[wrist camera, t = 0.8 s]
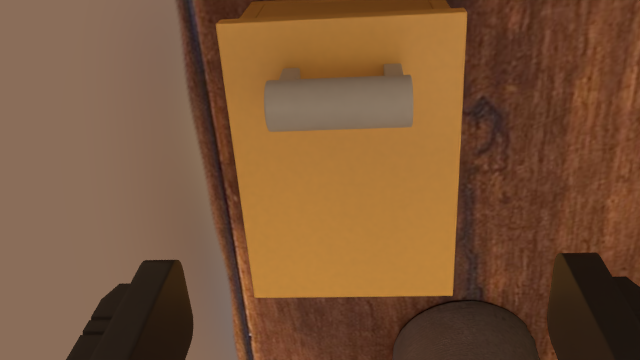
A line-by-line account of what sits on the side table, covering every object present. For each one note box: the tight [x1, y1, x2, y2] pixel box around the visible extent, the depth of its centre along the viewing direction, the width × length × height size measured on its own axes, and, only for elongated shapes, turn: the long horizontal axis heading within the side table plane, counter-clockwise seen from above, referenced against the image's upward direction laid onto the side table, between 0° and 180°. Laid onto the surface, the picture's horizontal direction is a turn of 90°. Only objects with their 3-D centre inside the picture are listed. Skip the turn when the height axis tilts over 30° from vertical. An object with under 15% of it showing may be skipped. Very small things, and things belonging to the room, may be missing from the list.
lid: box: [216, 8, 467, 298], centre depth 24 cm, size 13×10×5 cm
